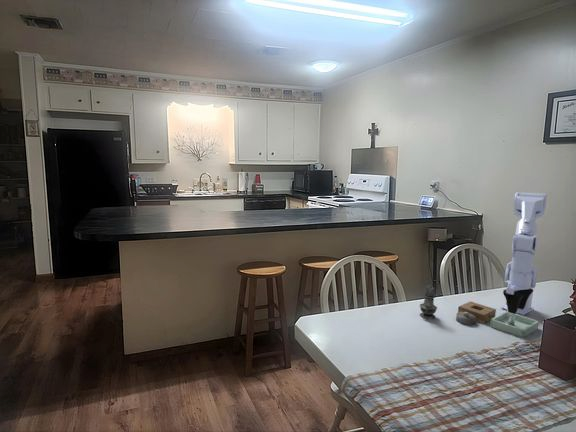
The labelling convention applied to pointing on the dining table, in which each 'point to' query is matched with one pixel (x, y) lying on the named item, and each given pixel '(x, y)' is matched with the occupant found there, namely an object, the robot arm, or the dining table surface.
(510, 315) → the lock pin
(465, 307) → the block
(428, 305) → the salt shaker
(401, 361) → the dining table surface
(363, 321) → the dining table surface
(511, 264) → the robot arm
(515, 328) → the tray
